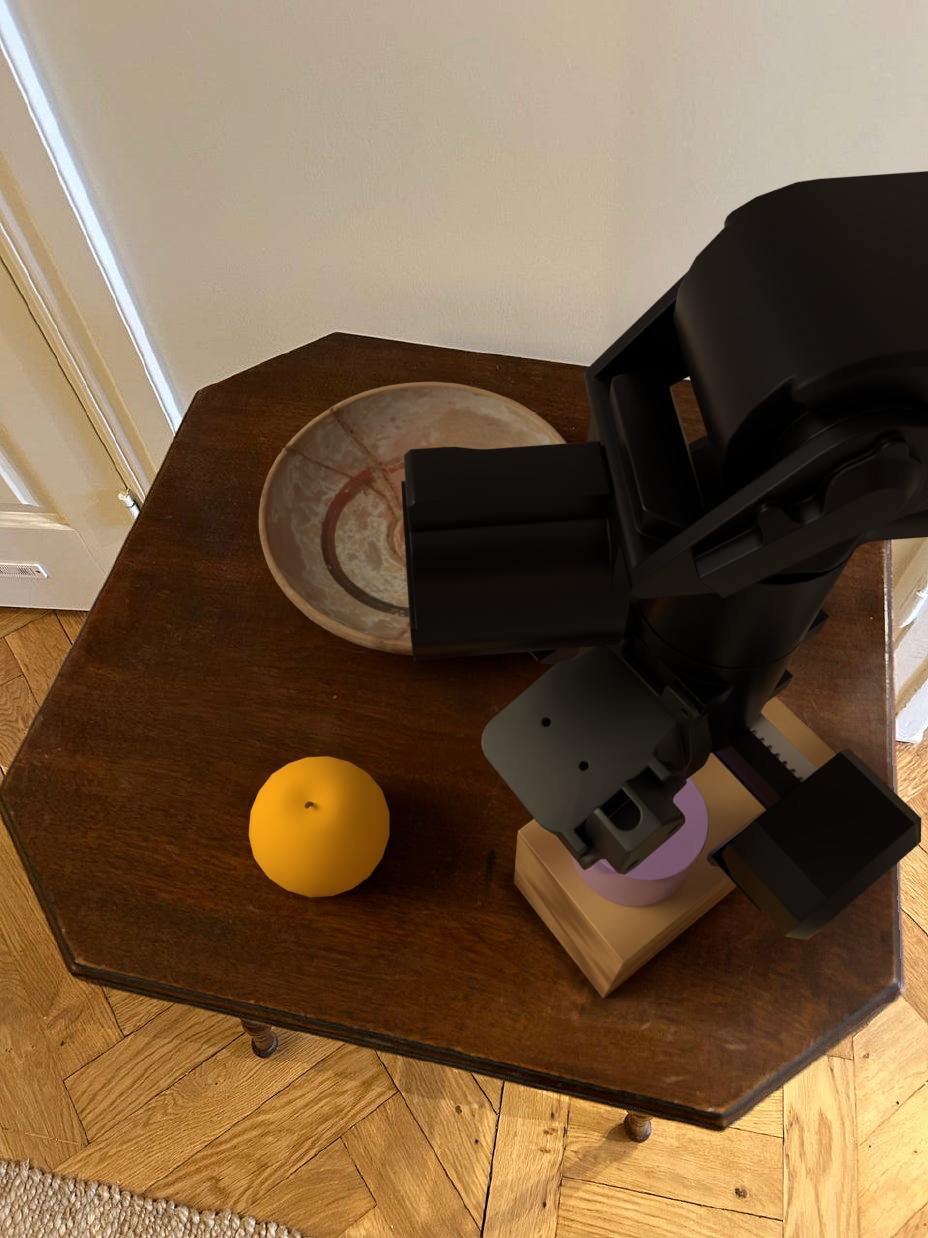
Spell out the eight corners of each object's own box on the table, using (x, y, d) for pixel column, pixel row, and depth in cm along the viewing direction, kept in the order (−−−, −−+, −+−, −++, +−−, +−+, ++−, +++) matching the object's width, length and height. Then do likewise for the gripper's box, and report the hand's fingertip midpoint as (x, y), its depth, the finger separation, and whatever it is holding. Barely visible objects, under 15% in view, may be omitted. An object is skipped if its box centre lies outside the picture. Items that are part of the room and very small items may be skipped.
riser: (804, 829, 55) (854, 770, 47) (603, 999, 50) (623, 964, 42) (709, 733, 58) (742, 664, 51) (513, 882, 53) (517, 831, 46)
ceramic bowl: (236, 667, 62) (218, 628, 57) (308, 417, 74) (297, 370, 70) (578, 698, 60) (585, 660, 56) (592, 436, 72) (599, 389, 68)
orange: (404, 789, 57) (393, 739, 50) (383, 918, 52) (369, 880, 46) (279, 777, 57) (252, 725, 51) (249, 902, 53) (216, 863, 47)
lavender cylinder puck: (716, 858, 45) (737, 827, 41) (625, 933, 43) (638, 907, 39) (634, 767, 47) (646, 730, 44) (545, 834, 46) (550, 802, 42)
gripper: (361, 526, 31) (396, 725, 44) (755, 995, 23) (654, 1068, 36) (608, 390, 35) (572, 612, 48) (1028, 755, 26) (844, 902, 40)
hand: (647, 778), depth 43 cm, fingers open, 9 cm apart
